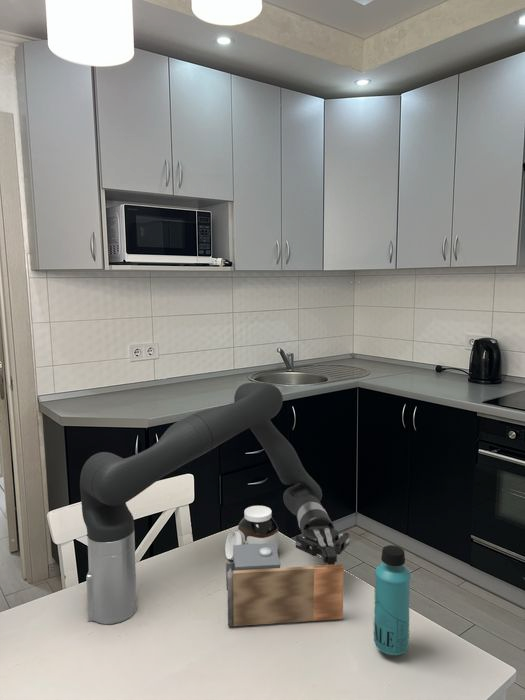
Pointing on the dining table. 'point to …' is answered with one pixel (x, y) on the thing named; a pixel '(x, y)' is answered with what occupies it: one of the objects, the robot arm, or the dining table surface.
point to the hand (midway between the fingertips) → (331, 560)
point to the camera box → (253, 557)
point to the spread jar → (253, 530)
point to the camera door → (285, 595)
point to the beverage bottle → (392, 602)
